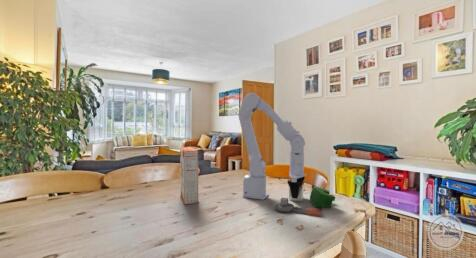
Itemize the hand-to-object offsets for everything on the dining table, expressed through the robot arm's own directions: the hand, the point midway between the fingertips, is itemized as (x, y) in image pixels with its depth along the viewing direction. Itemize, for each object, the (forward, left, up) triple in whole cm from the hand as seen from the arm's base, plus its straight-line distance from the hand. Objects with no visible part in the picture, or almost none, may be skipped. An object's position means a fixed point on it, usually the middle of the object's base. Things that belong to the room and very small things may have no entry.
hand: (296, 195), depth 106 cm
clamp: (+10, -3, -2) cm, 11 cm away
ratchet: (+3, -15, -1) cm, 15 cm away
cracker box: (-41, -18, -2) cm, 45 cm away
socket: (0, 0, -1) cm, 1 cm away
